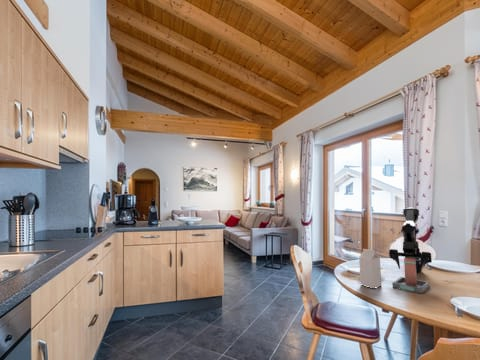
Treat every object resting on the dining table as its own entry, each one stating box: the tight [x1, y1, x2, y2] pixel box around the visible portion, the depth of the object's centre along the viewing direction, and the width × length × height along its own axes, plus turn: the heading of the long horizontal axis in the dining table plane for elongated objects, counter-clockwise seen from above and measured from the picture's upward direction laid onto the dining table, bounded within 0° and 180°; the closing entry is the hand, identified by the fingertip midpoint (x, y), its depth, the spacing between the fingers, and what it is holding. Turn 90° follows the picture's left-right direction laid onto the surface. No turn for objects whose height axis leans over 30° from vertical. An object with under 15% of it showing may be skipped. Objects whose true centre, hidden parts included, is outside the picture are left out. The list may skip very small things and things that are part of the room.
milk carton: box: [358, 248, 383, 288], centre depth 139 cm, size 7×7×19 cm
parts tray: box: [391, 276, 430, 295], centre depth 135 cm, size 13×13×2 cm
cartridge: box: [403, 257, 418, 287], centre depth 135 cm, size 5×5×14 cm
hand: (409, 269), depth 135 cm, fingers open, 9 cm apart
